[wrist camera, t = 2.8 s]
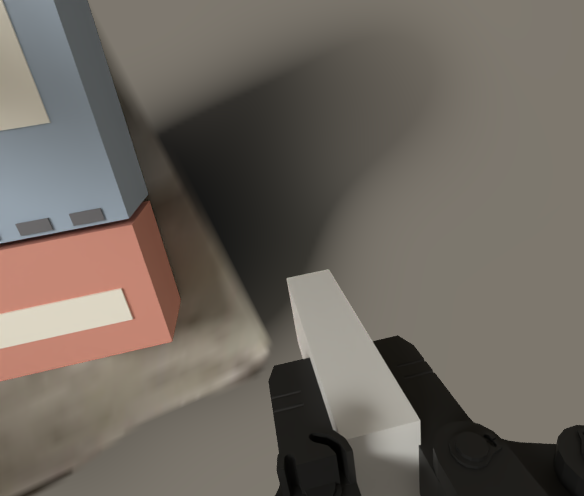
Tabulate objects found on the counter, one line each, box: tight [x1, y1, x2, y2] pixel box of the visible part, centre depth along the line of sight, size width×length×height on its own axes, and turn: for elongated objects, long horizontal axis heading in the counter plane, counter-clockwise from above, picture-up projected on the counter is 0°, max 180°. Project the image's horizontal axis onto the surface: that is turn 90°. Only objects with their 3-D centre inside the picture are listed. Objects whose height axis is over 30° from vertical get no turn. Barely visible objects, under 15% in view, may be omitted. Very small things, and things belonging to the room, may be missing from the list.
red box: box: [0, 201, 181, 381], centre depth 18 cm, size 9×6×4 cm, turn 99°
